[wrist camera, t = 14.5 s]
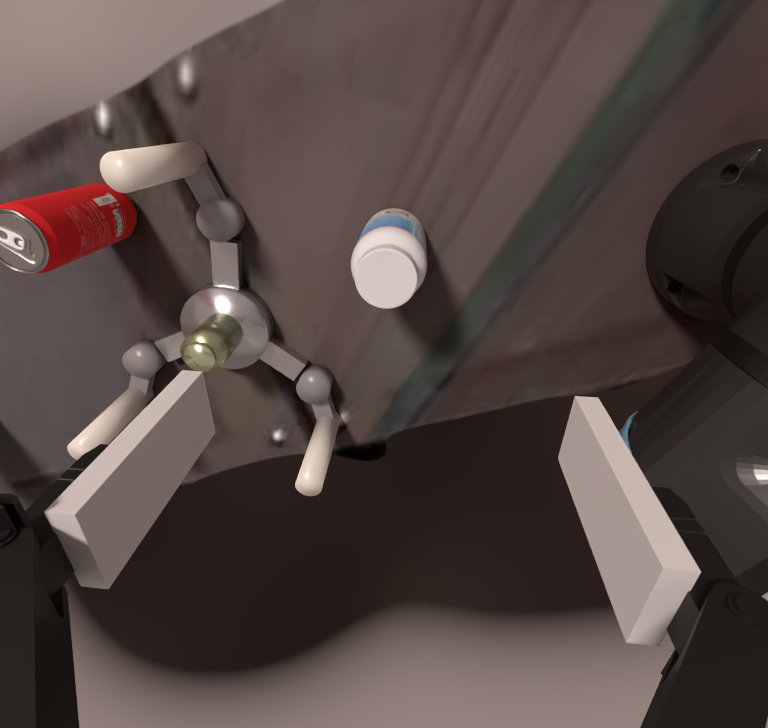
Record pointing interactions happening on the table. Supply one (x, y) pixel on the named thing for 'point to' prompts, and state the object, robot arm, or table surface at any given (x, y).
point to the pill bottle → (390, 258)
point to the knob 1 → (123, 399)
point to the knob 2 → (317, 428)
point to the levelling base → (239, 309)
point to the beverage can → (63, 226)
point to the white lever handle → (169, 163)
